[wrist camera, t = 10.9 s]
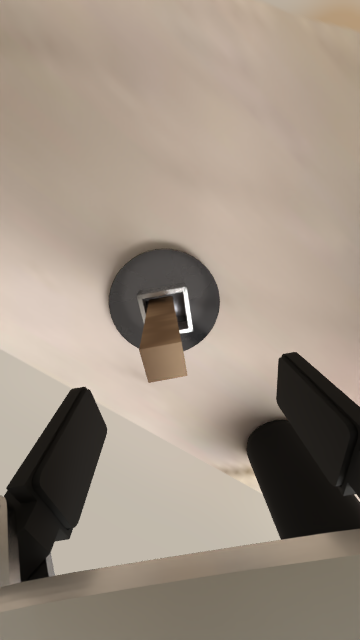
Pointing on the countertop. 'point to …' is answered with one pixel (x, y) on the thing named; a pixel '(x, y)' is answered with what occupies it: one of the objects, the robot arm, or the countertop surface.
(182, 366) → the tan wooden beam
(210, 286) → the round metal socket base
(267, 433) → the coffee jar
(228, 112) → the countertop surface
